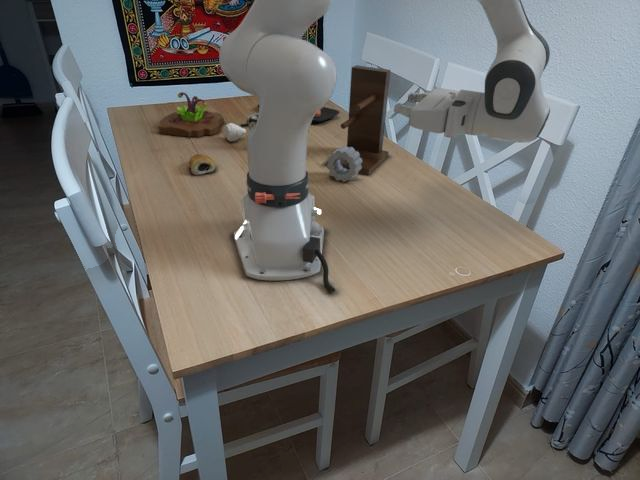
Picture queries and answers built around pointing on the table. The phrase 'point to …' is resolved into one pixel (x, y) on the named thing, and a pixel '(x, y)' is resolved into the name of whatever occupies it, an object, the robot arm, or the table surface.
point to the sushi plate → (319, 115)
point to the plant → (191, 120)
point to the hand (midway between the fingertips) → (402, 102)
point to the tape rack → (367, 116)
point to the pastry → (201, 164)
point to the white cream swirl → (233, 132)
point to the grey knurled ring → (338, 169)
